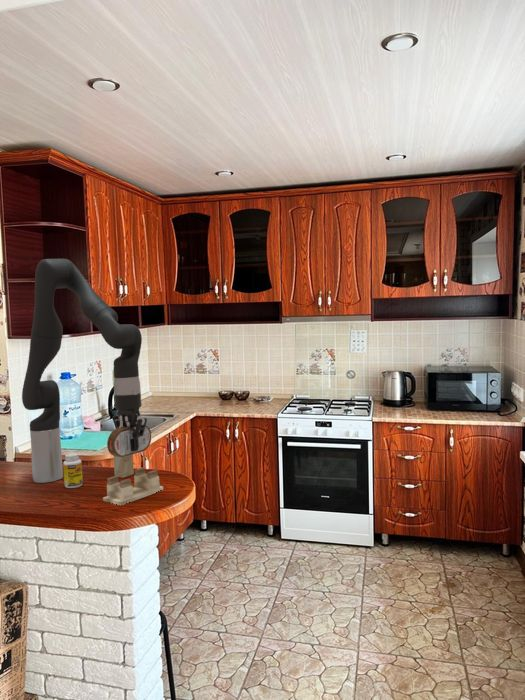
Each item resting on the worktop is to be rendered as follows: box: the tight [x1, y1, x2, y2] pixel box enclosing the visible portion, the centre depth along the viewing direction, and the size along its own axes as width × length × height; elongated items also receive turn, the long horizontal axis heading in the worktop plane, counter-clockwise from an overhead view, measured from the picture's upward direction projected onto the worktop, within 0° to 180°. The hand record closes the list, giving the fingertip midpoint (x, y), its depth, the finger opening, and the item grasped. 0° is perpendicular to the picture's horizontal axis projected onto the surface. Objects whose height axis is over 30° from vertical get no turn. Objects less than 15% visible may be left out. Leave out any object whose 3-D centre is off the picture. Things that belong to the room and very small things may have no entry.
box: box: [113, 454, 135, 478], centre depth 179 cm, size 5×4×11 cm
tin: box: [106, 425, 152, 457], centre depth 156 cm, size 15×3×8 cm, turn 145°
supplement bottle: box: [62, 452, 84, 489], centre depth 169 cm, size 6×6×10 cm
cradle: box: [102, 467, 165, 507], centre depth 157 cm, size 8×16×6 cm, turn 142°
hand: (131, 449), depth 157 cm, fingers closed on tin, 2 cm apart
